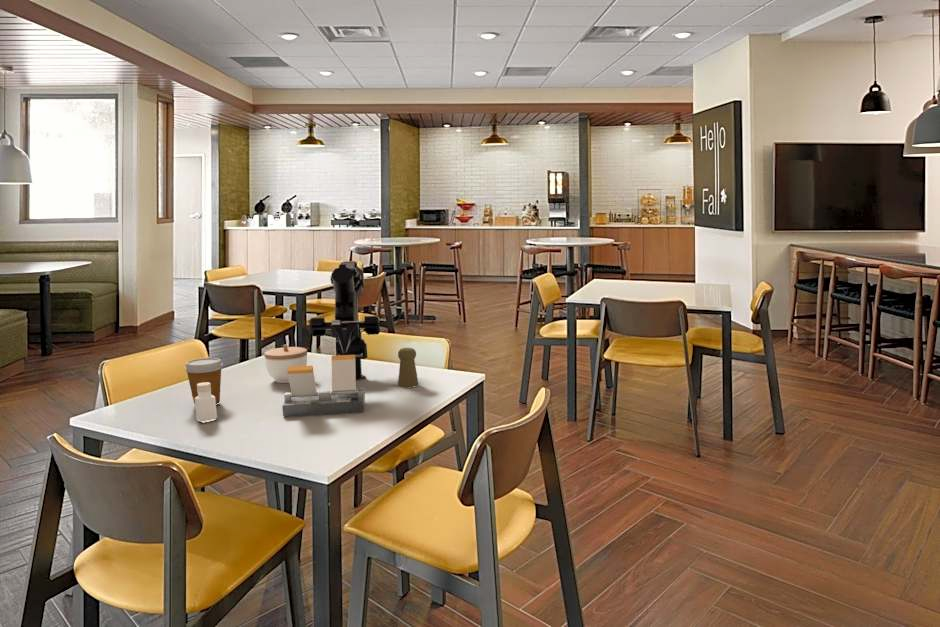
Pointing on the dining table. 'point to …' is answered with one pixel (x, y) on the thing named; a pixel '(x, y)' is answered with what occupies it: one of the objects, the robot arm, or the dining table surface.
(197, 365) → the disposable coffee cup
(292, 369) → the white orange-topped slab
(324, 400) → the light switch frame
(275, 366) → the lidded bowl
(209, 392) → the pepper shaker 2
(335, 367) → the panel
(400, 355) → the pepper shaker
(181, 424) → the dining table surface
